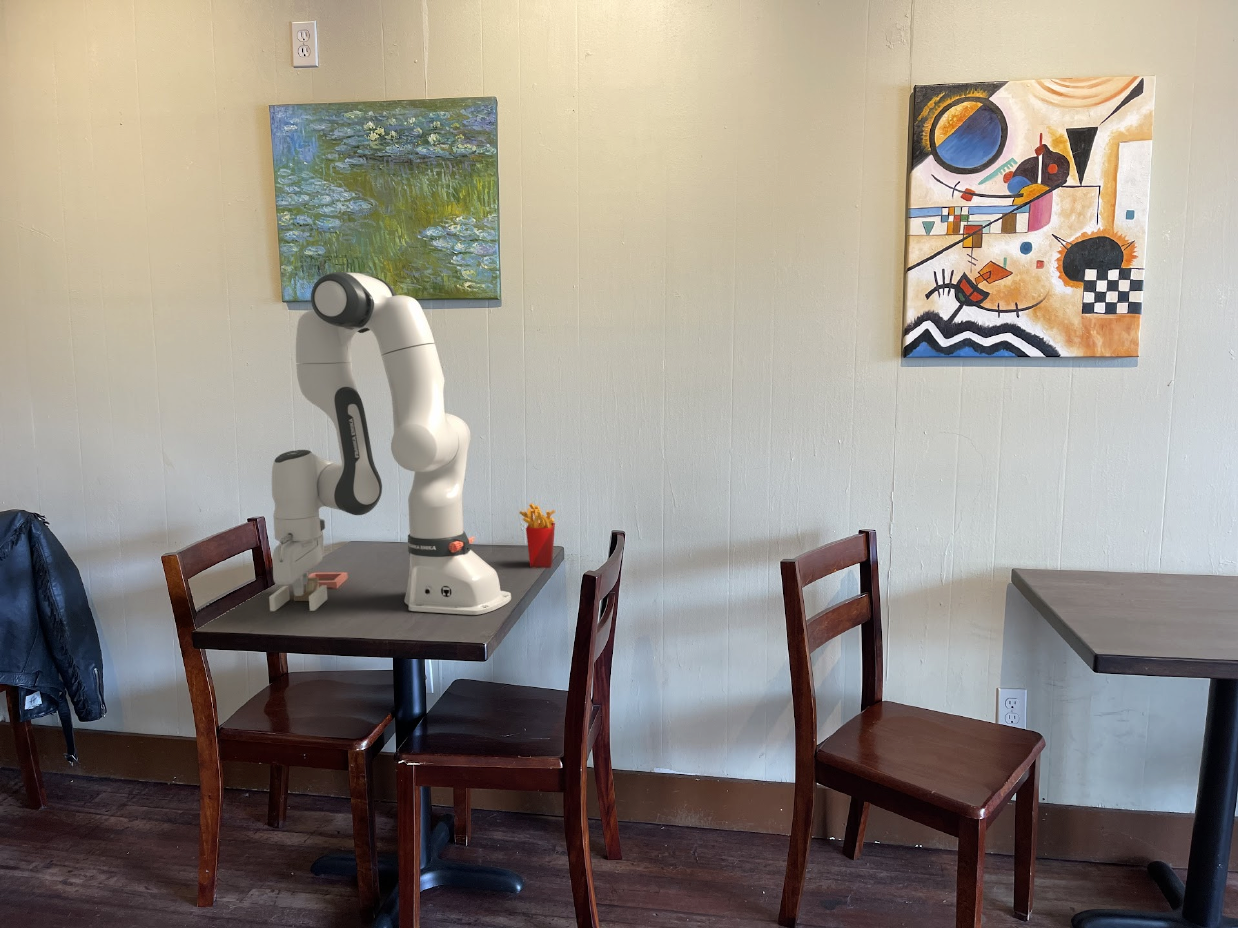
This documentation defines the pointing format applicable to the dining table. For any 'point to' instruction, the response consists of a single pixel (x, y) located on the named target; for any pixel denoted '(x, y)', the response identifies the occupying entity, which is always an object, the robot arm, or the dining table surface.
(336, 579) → the frame
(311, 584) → the beech block
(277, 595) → the walled lane
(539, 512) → the french fries
